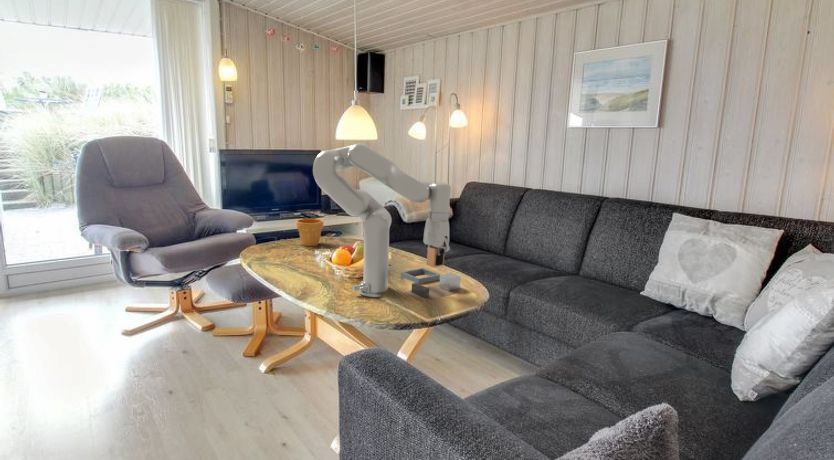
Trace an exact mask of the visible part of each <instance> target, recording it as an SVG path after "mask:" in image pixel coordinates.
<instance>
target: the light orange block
mask: <svg viewBox="0 0 834 460" xmlns="http://www.w3.org/2000/svg"><path fill="white" fill-rule="evenodd" d="M441 250H442V248H441V249H440V251H441ZM436 255H438V254H437V248H436V247H433V246H430V247H428V252H427V255H426V266H429V267H432V268H437V267H444V262H445V255H443V265H438V266H437V265H436Z"/></svg>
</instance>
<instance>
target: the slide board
mask: <svg viewBox="0 0 834 460" xmlns="http://www.w3.org/2000/svg"><path fill="white" fill-rule="evenodd" d="M464 292H468V290H467V289H465V288H461V287H460V289H455V290H451V291H448V290H445V289H443V288H440V287H439V284H434V285H430V286H425V285H422V284H418V283H415V282H412V283H411V290H408V291H402V294H405V295H406V296H408V297H411V298H413V299H415V300H418V301H420V302H427V301H432V300H434V299H438V298H442V297H447V296H451V295H457V294H459V293H460V294H461V293H464Z"/></svg>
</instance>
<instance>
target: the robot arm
mask: <svg viewBox="0 0 834 460" xmlns="http://www.w3.org/2000/svg"><path fill="white" fill-rule="evenodd" d="M354 168H357V169H359V170H360V171H362V172H364V173H366V174H367V175H369V176H371V177H373V178H374V179H376V181H379V182H381V183H382V184H383V185H384V186H386V187H388V188H389V189H391V190H393V191H394V192H396V193H397V194H399V195H400V196H401V197H404V198H405V199H407V200H409V201H410V202H413V203H415V204H423V203H426V201H428V213H427V215H428V216H427V218H426V221H425V226H424V229H423V231H424V232H423V239H422V241H423V243H424V245H425V246H426V251H427V252H428V247H430V246H433V247H436V248H437V254H438V255H436V265H437V266H438V265H443V266H444V264H443V255H444V256H445V255H446V253H448V251H450V249H451V247H450V245H449V244H450V222H449V215H450V214H449V213H450V200H451V185H450V184H449V183H446V182H430V181H425V180H417V179H415V178H413V177H412V176H410V175H409V174H408V173H406V172H404V171H403V170H402V169H401V168H400V167H398V165H397V164H396V163H394V162H393V161H392V160H390V159H389V158H387V157H385V156H383V155H381V154H380V153H378V152H377V151H375V150H374V149H372V148H371V147H370V146H369V145H368V144H366V143H363V142H358V143H354V144H353V145H348V146H344V147H343V146H342V147H339V148H338V147H337V148H334V149H328V150H327V149H325V150H323V151H321V152H320V153H318V154H317V156H315V159H314V161H313V166H312V175H313V178H314V180H315V183H316V184H317V186H318V187H319V188H320V190H322V191H323V192H324V193H325V194H326V195H327V196H328V197H329V198H331V200H333V202H334V203H336V204H337V205H338V206H339V207H340V208H341V210H343V211H344V212H346V214H347V215H349V216H351V217H355V218H358V217H359V218H360V219H361V220H362V221H363V226H362V228H363V229H362V231H363V273H362V274H363V277H362V278H363V280H361V281H360V283H359V284H356V285H352V286H351V289H352V291H353V292H354V291H358V293H359V294H360V295H362V296H364V297H368V298H382V297H383V298H384V296H383V295H381V294H380V293H384V292H387V291H388V290H389V263H390V262H389V259H390V256H389V254H390V228H391V225H392V216H391V213H390V212H389V211H388V210H387V209H386V208H385V207H384V206H383V205H382V204H380V203H379V201H377V200H376V199H375V198H374V197H373V196H372V195H371V194H369V193H368V192H367V191H365V190H363V189H356V188H355V187H354V186H352V185H351V184H350V183H348V181H347V180H346V179H344V178H343V177H342V176H340V174H339V173H338V172H339V171H345V170H349V169H354ZM441 248H442V250H441V251H440V249H441ZM438 267H439V266H438Z"/></svg>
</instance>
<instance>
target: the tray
mask: <svg viewBox="0 0 834 460" xmlns="http://www.w3.org/2000/svg"><path fill="white" fill-rule="evenodd" d="M425 275H427V276H425ZM440 275H441V273H437V272H435V271H432V270H429V269H426V268H423V267H421V268H416V269H410V270H404V271H400V280H403V279H404V280H408V281H411V282H412V283H418V284H420V285H422V284H425V283H430V282H435V281H440ZM419 276H423V277H419Z"/></svg>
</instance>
